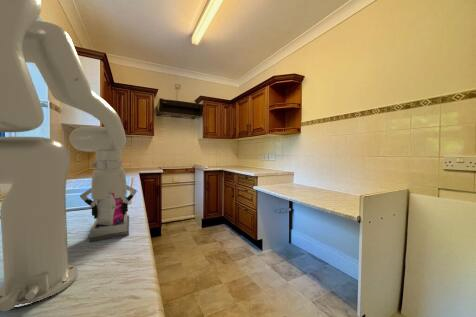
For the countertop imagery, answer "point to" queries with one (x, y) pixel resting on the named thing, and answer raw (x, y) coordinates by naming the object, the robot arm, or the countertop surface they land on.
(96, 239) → the grey open tray
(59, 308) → the countertop surface
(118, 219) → the supplement box
